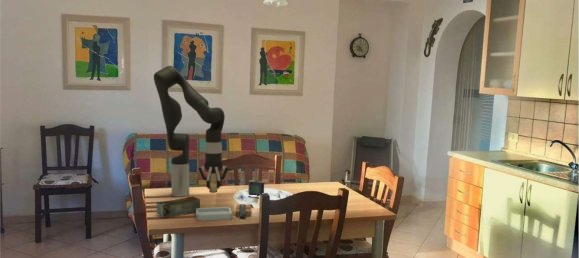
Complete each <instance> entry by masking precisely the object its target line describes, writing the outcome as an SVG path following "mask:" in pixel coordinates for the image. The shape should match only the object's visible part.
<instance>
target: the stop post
mask: <svg viewBox="0 0 579 258" xmlns="http://www.w3.org/2000/svg"><path fill="white" fill-rule="evenodd" d="M238 205H239V217H238V218H239V219H241V220H243V219H246V218H247V217H246V205H247V204H243V203H240V204H238Z"/></svg>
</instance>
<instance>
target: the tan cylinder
mask: <svg viewBox="0 0 579 258" xmlns="http://www.w3.org/2000/svg"><path fill="white" fill-rule="evenodd" d="M209 174H210V173H209ZM217 180H218V178H217V174H216V173H211V175H210V178H209V181H210V189H208V190H209V193H210V194H216V193H218V189H217Z"/></svg>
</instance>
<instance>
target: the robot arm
mask: <svg viewBox="0 0 579 258" xmlns="http://www.w3.org/2000/svg"><path fill="white" fill-rule="evenodd" d="M153 81H154V86H155V88H156V92H157V94H158V98H159V101H160V106H161V112H162V117H163V121H164V125H165V130H166V137H167V145H168V148H169V150H170V151H174V152H175V151H176V152H182V153H181V154H180V155H176V156H173V157H172V158H171V161H170V162H171V164H170V165H171V166H170V167H171V168H170V169H171V196H172V197H177V198H178V197H182V198H183V197H187V196H190V135H189V134H188V133H175V130H176V128H177V126H178V125H179V124H180V122H181V121H182V118H183V114H182V113H183V112H182V107H181V104H180V103H179V102H178V101H177V100H176V99H175V98H173V97H172V96H171V95H170V94H169V88H172V87H173V86H175V85H178V86H179V87H181V90H182V94H183V98H184V100H185V102H186V104H187V105H189V107H191V108H192V110H195V111H196V113H197V114H198V116H199V117H200V118H201V121H203V122H204V123H206V124H210V126H209V127H208V128H207V129H206V130H205V146H204V165H202V166H199V167H198V171H199V174H200V176H201V178H202V180H204V181H206V184H205V185H206V188H207V190H209V189H210V181H209V178H210V175H211V173H216V174H217V190H219V189H220V188H221V180H225V178H226V175H227V173H228V171H229V167H228V166H227V165H224V164H223V162H222V161H223V156H222V155H223V146H222V145H223V143H222V132H223V127H224V125H225V124H224V123H225V118H226V116H225V111H224V110H223V109H222V108H221V107H210V106H209V104H210V102H209V101H208V100H207V99H206V98H205V97H204V96H203V95H201V93H200V92H198V91H197V90H196V89H195V88H194V87H193V86H192V85H191V83H189V81H188V80H187V79H186V78H185V77H184V76H183V75H182V73H181V72H180V71H179V70H178V69H177V68H176V67H174V66H172V65H168V66H167V65H166V66H165V67H163V68H161V69H160V70H157V71H156V72H155V73H154V74H153ZM205 170H206V171H207V174H206V175H205V173H204V171H205ZM221 170H222V171H223V172H222V175H220V171H221ZM209 173H210V174H209Z"/></svg>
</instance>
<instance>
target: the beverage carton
mask: <svg viewBox="0 0 579 258" xmlns="http://www.w3.org/2000/svg"><path fill="white" fill-rule="evenodd" d="M196 208H201V200H200V198H197V197H195V196H188V197H187V196H186V197H182V198H178V199H171V200H166V201H160V202H156V215H157V214H159V215H160V216H162V217H168V216H174V215H179V216H181V215H180V214H184V215H186V214H185V213H188V214H193V213H196ZM159 215H158V216H159ZM160 216H159V217H160ZM162 217H161V218H162ZM174 217H175V216H174ZM168 218H169V217H168Z"/></svg>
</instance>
